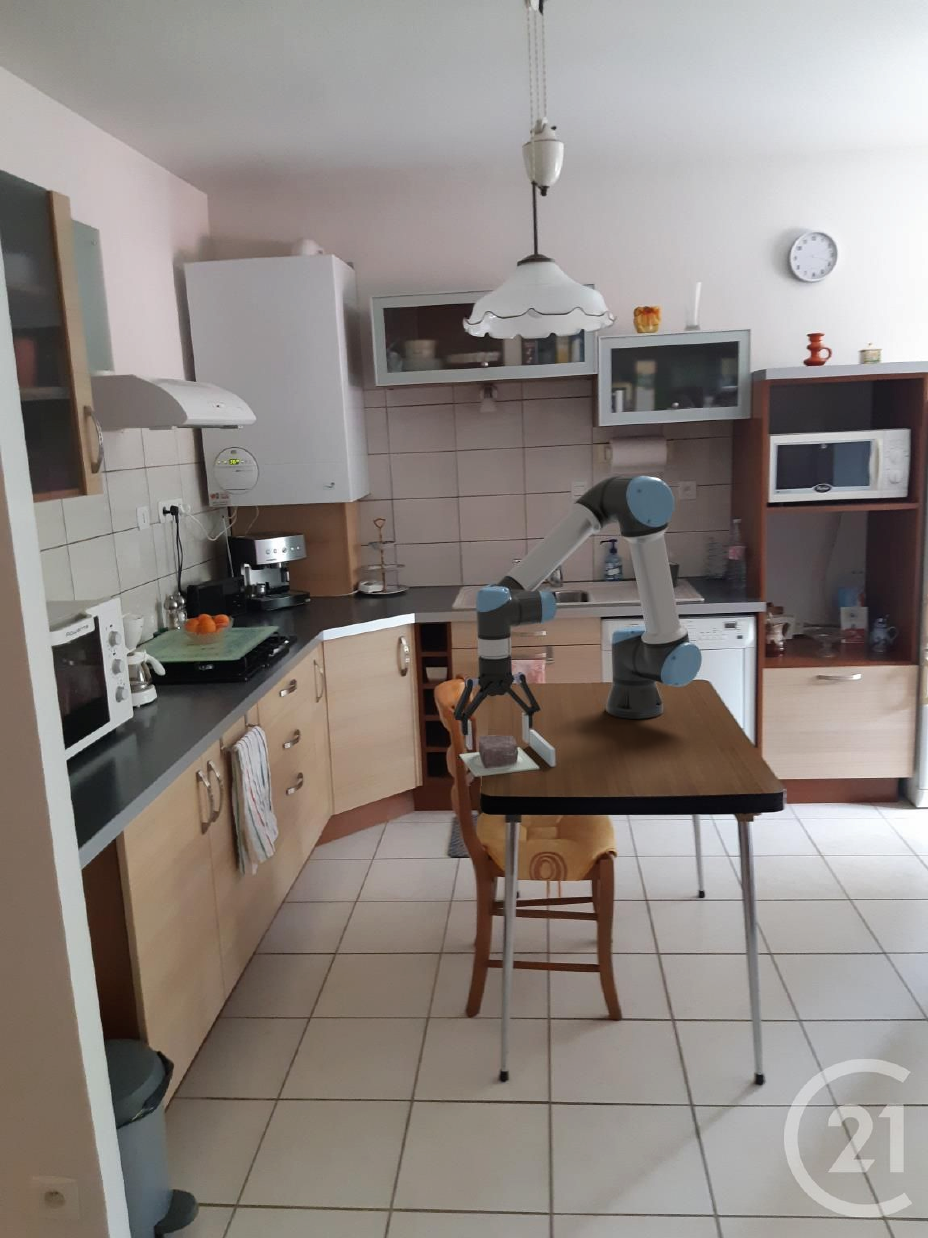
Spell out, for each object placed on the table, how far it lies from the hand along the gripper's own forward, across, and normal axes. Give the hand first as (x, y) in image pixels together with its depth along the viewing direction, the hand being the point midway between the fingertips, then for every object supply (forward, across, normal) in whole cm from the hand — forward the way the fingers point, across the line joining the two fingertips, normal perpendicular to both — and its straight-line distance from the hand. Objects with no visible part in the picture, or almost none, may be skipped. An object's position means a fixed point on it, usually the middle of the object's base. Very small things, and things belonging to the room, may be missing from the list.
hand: (497, 744), depth 214 cm
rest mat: (+4, 0, 0) cm, 4 cm away
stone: (+4, 0, 0) cm, 4 cm away
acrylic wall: (+4, -11, -1) cm, 12 cm away
